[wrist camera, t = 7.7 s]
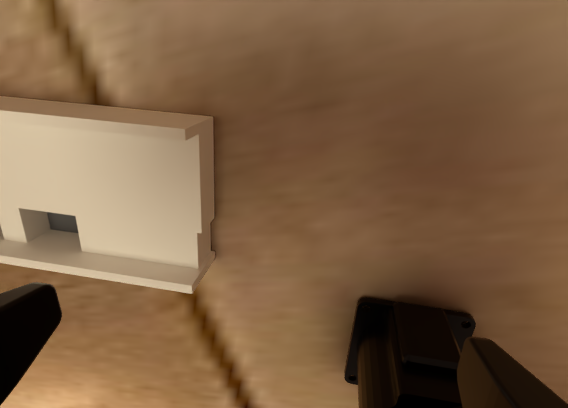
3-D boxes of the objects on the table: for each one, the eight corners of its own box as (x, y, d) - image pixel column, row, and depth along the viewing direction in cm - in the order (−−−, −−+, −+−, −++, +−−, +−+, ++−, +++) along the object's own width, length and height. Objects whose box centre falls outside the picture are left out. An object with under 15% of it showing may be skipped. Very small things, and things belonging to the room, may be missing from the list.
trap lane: (214, 258, 21) (191, 294, 18) (-95, 212, 24) (-163, 236, 21) (213, 116, 18) (184, 129, 15) (-147, 81, 21) (-237, 85, 18)
